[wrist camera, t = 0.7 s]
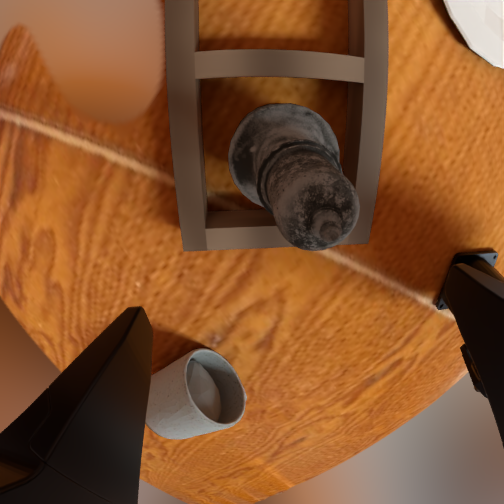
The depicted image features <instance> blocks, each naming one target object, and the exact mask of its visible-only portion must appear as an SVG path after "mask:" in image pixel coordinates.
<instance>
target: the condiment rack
mask: <svg viewBox="0 0 504 504" xmlns="http://www.w3.org/2000/svg"><path fill="white" fill-rule="evenodd" d="M348 22H349V56H348V55H340V54H332V53H323V52H311V51H297V50H274V49H237V50H214V51H200V52H199V7H198V0H165V52H166V77H167V96H168V111H169V125H170V137H171V149H172V159H173V169H174V179H175V188H176V197H177V205H178V213H179V221H180V229H181V236H182V243H183V250H184V251H206V250H228V249H252V248H275V247H295V246H293V245H292V244H291V243H290V242H288V241H287V240H286V239H285V238H284V237H283V235H282V234H281V232H280V231H279V230H278V227H277V224H276V221H275V218H274V216H273V215H272V214H270V213H269V212H268V211H267V210H266V209H260V210H234V211H212V212H208V206H207V193H206V179H205V165H204V149H203V132H202V112H201V90H200V79H208V78H226V77H295V78H313V79H326V80H337V81H346V82H348V101H347V121H346V137H345V150H344V163H343V175H344V176H345V177H346V178H347V179H348V180H349V181H350V182H351V183H352V184H353V186H354V188H355V190H356V192H357V195H358V198H359V204H360V210H359V217H358V220H357V222H356V225H355V227H354V228H353V230H352V231H351V233H350V234H349V235H348V236H347V237H346V238H345V239H344V240H343V241H342V242H340V243H338V244H337V245H349V244H368V242H369V237H370V232H371V226H372V220H373V214H374V208H375V202H376V196H377V189H378V182H379V174H380V166H381V158H382V149H383V140H384V129H385V117H386V103H387V84H388V5H387V0H348Z"/></svg>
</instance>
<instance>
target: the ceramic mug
mask: <svg viewBox="0 0 504 504" xmlns="http://www.w3.org/2000/svg"><path fill="white" fill-rule="evenodd" d="M246 399H247V396H246V393H245V390H244V387H243V386H242V383H241V381H240V379H239V377H238V375H237V373H236V372H235V370H234V369H233V367H232V366H231V365H230V363H229V362H228V361H227V360H226V359H225V358H223V357H222V356H221V355H220V354H218V353H216V352H215V351H213V350H210V349H206V348H199V349H195V350H193V351H191V352H189V353H188V354H186V355H185V356H183V357H181V358H180V359H178V360H176V361H175V362H173V363H171V364H170V365H168V366H167V367H165V368H164V369H162V370H160V371H158V372H156V373H155V374H153V375H152V376H151V383H150V391H149V398H148V405H147V413H146V420H145V424H146V425H147V426H148V427H149V428H150V429H151V430H152V431H153V432H155V433H156V434H157V435H159V436H162V437H164V438H168V439H186V438H191V437H194V436H197V435H202V434H206V433H210V432H214V431H218V430H222V429H225V428H229V427H231V426H233V425H235V424H236V423H237V422H239V420H240V419H241V418H242V416H243V414H244V410H245V401H246Z"/></svg>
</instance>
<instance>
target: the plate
mask: <svg viewBox="0 0 504 504" xmlns="http://www.w3.org/2000/svg"><path fill="white" fill-rule="evenodd" d="M442 1H443V4H444V6H445V9H446V11H447V14H448V16H449V18H450V19H451V21H452V22H453V24H454V25H455V27H456V28H457V30H458V31H459V33H460V34H461V36H462V38H463V39H464V41H465V43H466V44H467V46H468V48H469V49H471V50H472V51H473V52H475V53H476V54H478V55H479V56H480V57H482V58H483V59H484V60H486V61H487V62H488V63H490V64H491V65H492V66H496V67H500V68H504V0H442Z"/></svg>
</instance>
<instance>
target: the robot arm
mask: <svg viewBox="0 0 504 504" xmlns="http://www.w3.org/2000/svg"><path fill="white" fill-rule="evenodd" d="M497 257H498V253H497V252H496V251H483V252H468V253H457V254H456V255H455V256H454V258H453V261H452V264H451V267H450V270H449V272H448V275H447V278H446V280H445V283H444V286H443V288H442V291H441V293H440V296H439V298H438V301H437V303H436V307H437V309H438V310H442V309H448V308H449V309H450V311H451V312H452V314H453V315H454V317H455V319H456V322H457V325H458V328H459V330H460V333H461V335H462V337H463V340H464V342H465V344H463V345H462V346H461V347H460V349H461V352H462V354H463V355H462V356H463V359H464V361H465V364H466V366H467V369H468V371H469V374H470V377H471V379H472V382H473V385H474V388H475V390H476V391H477V392H481V393H482V394H483V395H484V396H485V397H486V398H488V400H489V403H490V405H491V408H492V411H493V414H494V417H495V420H496V423H497V426H498V430H499V433H500V436H501V439H502V442H503V447H504V277H503V276H502V275H501V274H500V273H499V272H498V271H497V270H496V269H495V268H494V265H495V262H496V260H497ZM152 344H153V330H152V327H151V324H150V322H149V320H148V317H147V315H146V313H145V310H144V309H143V307H141V306H137V307H128V308H127V309H126V310H125V311H124V312H123V313H122V314H120V315H119V316H118V317H117V318H116V319H115V320H114V321H113V322H112V323H111V324H110V325H109V326H108V327H107V328H106V329H105V330H104V331H103V332H102V333H101V334H100V335H99V336H98V337H97V338H96V339H95V340H94V341H93V342H92V343H91V344H90V345H89V346H88V347H87V348H86V349H85V350H84V351H83V352H82V353H81V354H80V355H79V356H78V357H77V358H76V359H75V360H74V361H73V362H72V363H71V364H70V365H69V366H68V367H67V368H66V369H65V370H64V371H63V372H62V373H61V374H60V375H59V376H58V377H57V378H56V379H55V380H54V382H52V383H51V384H50V386H49V388H47V389H46V390H45V391H44V392H43V393H42V394H41V395H40V396H39V397H38V398H37V399H36V400H35V401H34V402H33V403H32V404H31V405H30V406H29V407H28V408H27V409H26V410H25V411H24V412H23V413H22V414H21V415H20V416H19V417H18V418H17V419H16V420H14V421H13V422H12V423H11V424H10V425H9V426H8V427H7V428H6V429H4V431H2V432H1V433H0V504H138V490H139V477H140V466H141V455H142V446H143V437H144V428H145V420H146V413H147V405H148V398H149V391H150V383H151V364H152Z"/></svg>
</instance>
